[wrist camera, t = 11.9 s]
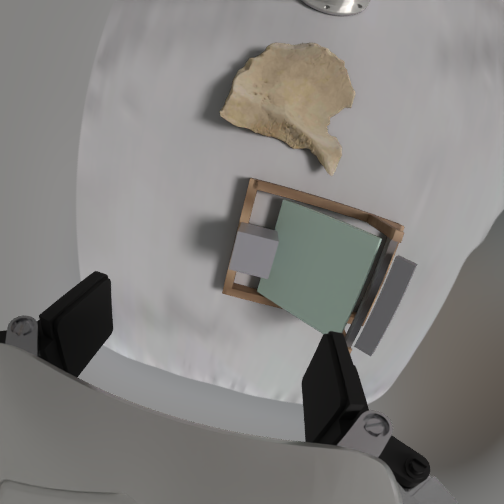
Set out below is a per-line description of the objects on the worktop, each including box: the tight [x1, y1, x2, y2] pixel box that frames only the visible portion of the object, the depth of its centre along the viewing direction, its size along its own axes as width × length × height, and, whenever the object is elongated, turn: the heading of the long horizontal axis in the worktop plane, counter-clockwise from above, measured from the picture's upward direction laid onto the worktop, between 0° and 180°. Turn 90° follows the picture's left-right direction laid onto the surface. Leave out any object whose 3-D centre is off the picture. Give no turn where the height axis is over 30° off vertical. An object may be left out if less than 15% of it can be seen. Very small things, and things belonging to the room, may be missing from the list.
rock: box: [219, 43, 355, 176], centre depth 31 cm, size 18×15×4 cm
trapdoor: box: [257, 199, 417, 356], centre depth 33 cm, size 14×19×2 cm
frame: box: [222, 178, 404, 353], centre depth 34 cm, size 17×23×11 cm
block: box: [229, 222, 279, 279], centre depth 35 cm, size 5×5×5 cm
